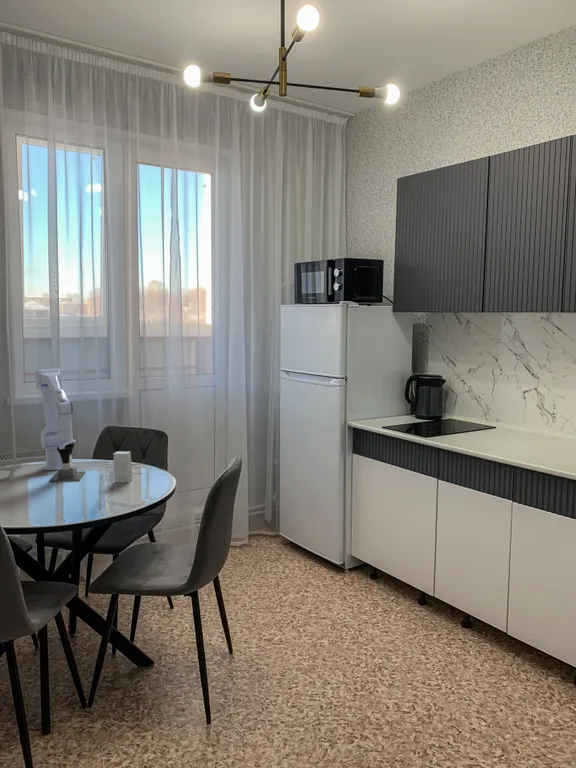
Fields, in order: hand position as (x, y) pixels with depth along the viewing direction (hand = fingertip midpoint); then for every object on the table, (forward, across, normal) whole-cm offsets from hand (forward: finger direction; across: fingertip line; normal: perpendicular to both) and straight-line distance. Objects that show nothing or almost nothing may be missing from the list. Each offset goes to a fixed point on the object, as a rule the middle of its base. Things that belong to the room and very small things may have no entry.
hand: (66, 462), depth 257 cm
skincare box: (+7, -9, -24) cm, 27 cm away
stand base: (+7, 0, 0) cm, 7 cm away
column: (+4, 0, 0) cm, 4 cm away
